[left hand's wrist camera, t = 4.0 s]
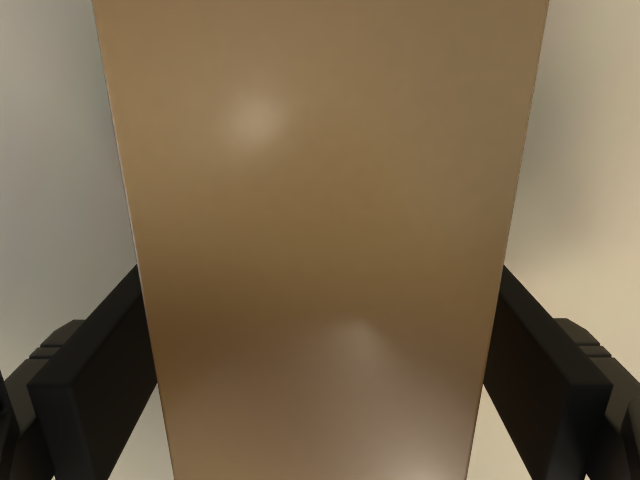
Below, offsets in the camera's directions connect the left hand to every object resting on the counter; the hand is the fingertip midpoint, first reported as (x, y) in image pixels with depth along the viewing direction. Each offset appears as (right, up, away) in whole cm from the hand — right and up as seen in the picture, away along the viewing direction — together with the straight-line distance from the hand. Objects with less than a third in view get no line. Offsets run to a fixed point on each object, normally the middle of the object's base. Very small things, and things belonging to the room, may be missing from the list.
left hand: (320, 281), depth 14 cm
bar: (0, +24, -8) cm, 26 cm away
